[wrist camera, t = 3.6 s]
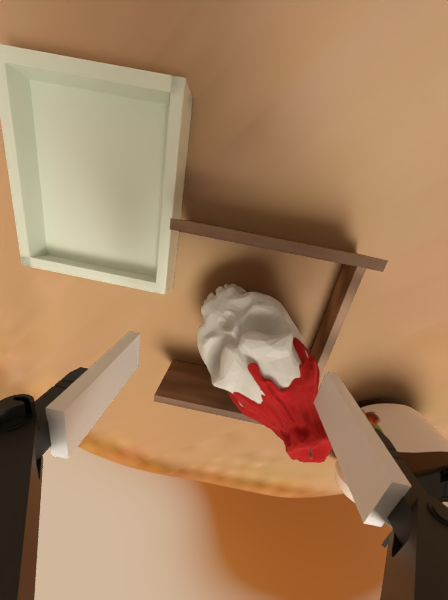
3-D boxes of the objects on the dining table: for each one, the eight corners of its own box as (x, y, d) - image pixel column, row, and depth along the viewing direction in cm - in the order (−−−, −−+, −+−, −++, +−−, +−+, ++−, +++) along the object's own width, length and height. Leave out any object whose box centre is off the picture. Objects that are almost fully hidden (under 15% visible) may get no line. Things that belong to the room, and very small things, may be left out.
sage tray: (23, 67, 18) (-11, 42, 16) (193, 98, 18) (185, 77, 15) (44, 261, 24) (21, 265, 21) (173, 287, 23) (164, 294, 21)
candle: (247, 258, 19) (387, 444, 10) (283, 307, 28) (375, 431, 18) (173, 314, 21) (231, 518, 11) (228, 344, 29) (287, 475, 20)
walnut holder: (190, 220, 21) (170, 218, 15) (356, 253, 21) (399, 262, 15) (172, 364, 27) (153, 401, 21) (301, 392, 27) (317, 436, 21)
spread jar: (406, 386, 25) (533, 510, 14) (423, 451, 28) (540, 594, 17) (307, 413, 28) (350, 535, 17) (332, 469, 31) (383, 604, 20)
